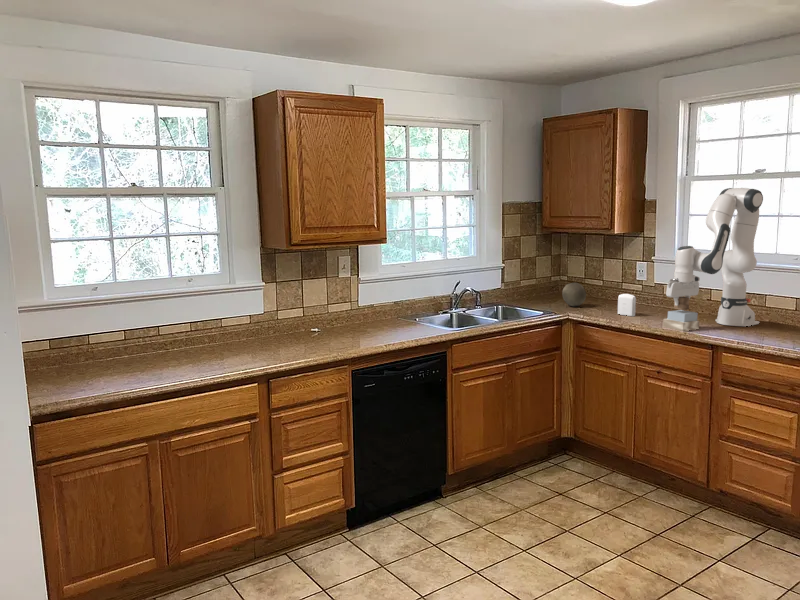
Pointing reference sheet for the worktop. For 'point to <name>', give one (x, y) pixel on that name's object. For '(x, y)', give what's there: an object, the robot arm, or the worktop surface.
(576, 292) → the grey ball
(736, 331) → the worktop surface
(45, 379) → the worktop surface
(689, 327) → the ash base slab
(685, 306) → the walnut block
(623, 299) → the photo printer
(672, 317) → the slate top block
